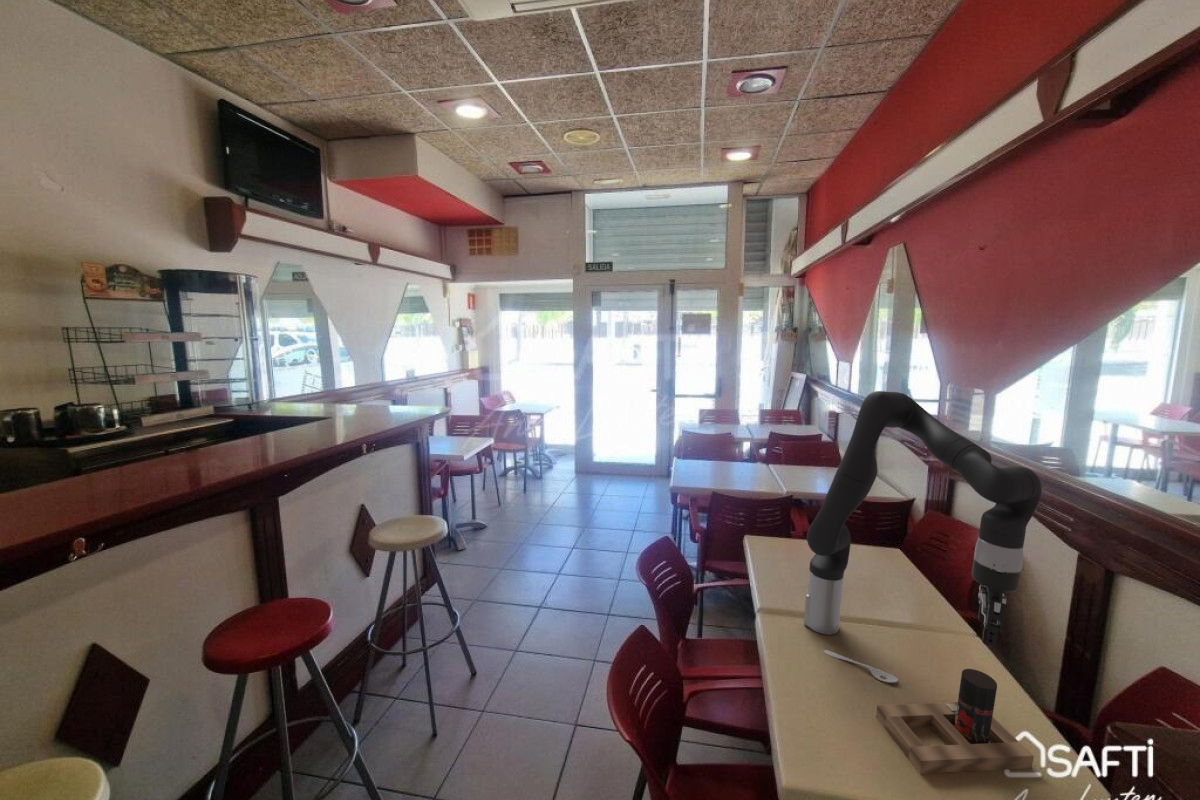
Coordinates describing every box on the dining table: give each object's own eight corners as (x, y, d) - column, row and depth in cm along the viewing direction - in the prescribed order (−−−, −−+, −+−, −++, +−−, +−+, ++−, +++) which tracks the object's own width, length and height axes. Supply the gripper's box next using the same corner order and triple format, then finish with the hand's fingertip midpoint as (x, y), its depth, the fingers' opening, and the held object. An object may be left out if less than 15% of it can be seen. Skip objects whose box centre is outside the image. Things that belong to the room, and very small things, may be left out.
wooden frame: (919, 773, 95) (921, 759, 94) (875, 716, 109) (877, 704, 108) (1031, 768, 96) (1034, 754, 96) (974, 712, 110) (976, 700, 109)
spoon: (896, 690, 117) (896, 684, 117) (811, 650, 131) (812, 645, 131) (900, 681, 120) (900, 676, 120) (817, 643, 134) (817, 638, 134)
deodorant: (994, 753, 99) (1003, 691, 97) (962, 749, 101) (971, 686, 98) (977, 730, 105) (986, 670, 103) (948, 726, 106) (956, 667, 104)
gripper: (971, 543, 104) (961, 610, 107) (977, 571, 92) (966, 645, 95) (1015, 552, 100) (1004, 621, 102) (1028, 582, 88) (1015, 659, 91)
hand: (986, 633), depth 99 cm, fingers open, 8 cm apart
